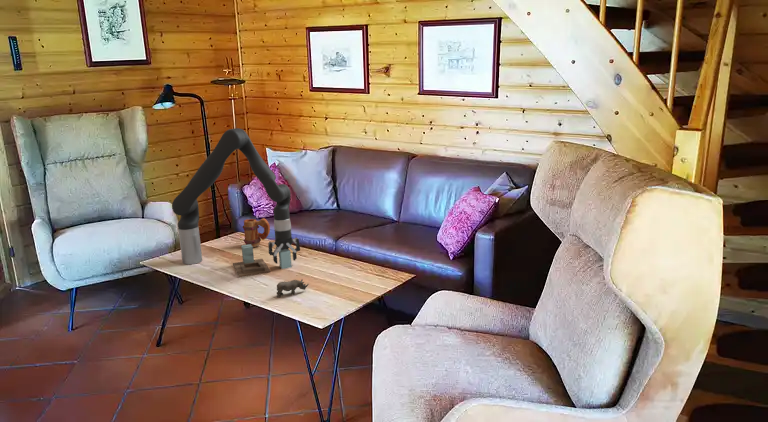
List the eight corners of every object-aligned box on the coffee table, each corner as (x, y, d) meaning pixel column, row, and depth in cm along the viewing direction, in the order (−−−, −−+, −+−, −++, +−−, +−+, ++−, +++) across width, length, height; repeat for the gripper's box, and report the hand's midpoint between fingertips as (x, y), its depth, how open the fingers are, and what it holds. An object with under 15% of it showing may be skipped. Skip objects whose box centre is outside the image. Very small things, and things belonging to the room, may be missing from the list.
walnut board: (232, 265, 270) (231, 247, 268) (262, 260, 276) (260, 242, 273) (239, 277, 254) (237, 258, 252) (270, 272, 260) (268, 253, 257)
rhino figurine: (310, 292, 235) (309, 278, 234) (277, 298, 230) (276, 284, 229) (308, 289, 239) (307, 275, 237) (275, 294, 234) (274, 281, 232)
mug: (241, 248, 295) (238, 220, 291) (247, 243, 302) (244, 216, 299) (268, 249, 292) (265, 221, 288) (273, 244, 300) (271, 216, 296)
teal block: (279, 266, 267) (278, 249, 265) (289, 264, 269) (288, 248, 267) (282, 269, 263) (280, 252, 261) (291, 267, 265) (290, 251, 263)
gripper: (295, 224, 267) (298, 256, 271) (265, 228, 262) (268, 261, 266) (299, 228, 261) (302, 261, 265) (268, 232, 255) (271, 266, 259)
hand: (285, 261), depth 265 cm, fingers open, 8 cm apart
